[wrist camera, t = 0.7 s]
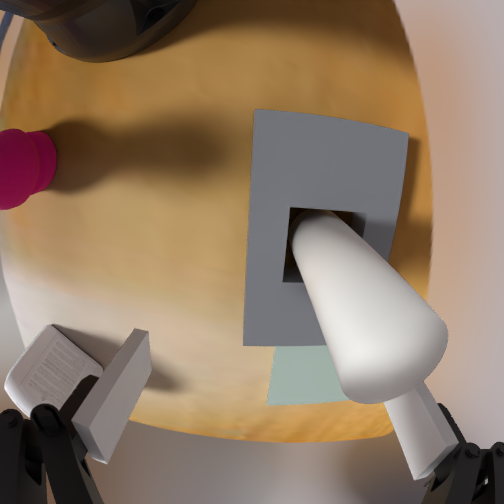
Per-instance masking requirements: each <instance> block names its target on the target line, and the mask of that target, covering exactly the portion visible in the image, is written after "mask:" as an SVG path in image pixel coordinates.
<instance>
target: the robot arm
mask: <svg viewBox="0 0 504 504" xmlns="http://www.w3.org/2000/svg"><path fill="white" fill-rule="evenodd" d="M196 1H197V0H0V10H2V11H6V12H9V13H12V14H15V15H19V16H21V17H24V18H27V19H30V20H33V21H34V22H35V24H36V25H37V26H38V27H39V28H40V29H41V30H42V31H43V32H44V33H45V34H46V35H47V38H48V40H49V41H50V43H51V44H52V45H53V47H54V48H55V49H57V50H58V51H59V52H61V53H62V54H64V55H66V56H69V57H72V58H75V59H78V60H81V61H85V62H94V63H97V62H107V61H113V60H117V59H120V58H123V57H126V56H129V55H131V54H134V53H136V52H138V51H140V50H142V49H144V48H146V47H148V46H150V45H151V44H153V43H154V42H156V41H158V40H159V39H160V38H162V37H163V36H165V35H166V34H167V33H169V32H170V31H171V30H172V29H173V28H174V27H176V26H177V25H178V24H179V23H180V22H181V21H182V20H183V19H184V17H185V16H186V15H187V14H188V13H189V11H190V10H191V9H192V7H193V6H194V5H195V3H196ZM151 372H152V365H151V356H150V345H149V332H148V331H145V330H140V329H136V328H135V329H134V330H133V332H132V333H131V334H130V336H129V337H128V338H127V340H126V341H125V343H124V344H123V345H122V347H121V348H120V349H119V351H118V352H117V354H116V355H115V356H114V358H113V359H112V361H111V362H110V364H109V365H108V366H107V368H106V369H105V371H104V372H103V374H102V375H101V376H100V377H97V376H94V375H91V374H90V375H88V376H87V377H85V378H83V379H82V380H81V381H80V382H79V384H78V385H77V386H76V389H74V390H73V392H72V394H71V395H70V396H69V397H68V399H67V400H66V401H65V403H64V404H63V406H62V407H61V408H60V410H58V409H57V408H56V407H55V406H54V405H51V404H46V403H43V404H39V405H37V406H36V407H34V408H33V409H32V411H31V413H30V419H31V420H28V419H24V418H23V416H22V415H21V413H20V412H19V411H17V410H15V409H7V410H4V411H3V412H2V413H1V414H0V504H47V488H46V472H47V475H48V479H49V482H50V486H51V489H52V492H53V495H54V499H55V501H56V504H104V502H103V500H102V498H101V496H100V494H99V491H98V489H97V487H96V485H95V482H94V480H93V477H92V475H91V472H90V470H89V467H88V464H87V462H86V459H85V458H84V457H85V456H86V454H87V452H88V453H89V454H90V456H91V458H93V459H96V460H98V461H100V462H103V463H106V464H108V461H109V459H110V457H111V455H112V453H113V451H114V449H115V446H116V444H117V442H118V440H119V438H120V436H121V433H122V431H123V429H124V427H125V425H126V423H127V421H128V419H129V417H130V415H131V413H132V411H133V409H134V407H135V405H136V403H137V400H138V398H139V396H140V394H141V392H142V390H143V388H144V386H145V384H146V382H147V380H148V378H149V376H150V374H151ZM384 405H385V407H386V409H387V412H388V414H389V417H390V419H391V421H392V424H393V426H394V429H395V431H396V434H397V436H398V439H399V441H400V444H401V446H402V449H403V452H404V454H405V457H406V460H407V462H408V465H409V468H410V470H411V473H412V475H413V478H414V480H417V479H420V478H424V477H426V476H428V475H429V474H430V473H431V472H432V471H433V470H434V472H435V475H434V476H433V477H432V478H431V479H430V480H429V481H428V482H426V483H425V485H424V487H426V486H427V485H428V484H429V483H430V484H429V487H428V489H427V492H426V494H425V496H424V499H423V501H422V503H421V504H504V443H503V442H496V443H495V444H494V445H493V446H492V447H491V448H490V449H480V448H479V447H478V446H477V445H476V444H474V443H467V442H466V440H465V438H464V437H463V435H462V433H461V431H460V430H459V428H458V426H457V424H456V423H455V421H454V419H453V418H452V417H451V414H450V412H449V411H448V410H447V408H445V406H443V405H442V404H441V403H436V401H435V399H434V398H433V396H432V395H431V393H430V391H429V389H428V388H427V386H426V385H425V383H424V381H422V382H421V383H420V384H419V385H417V386H416V387H415V388H413V389H412V390H410V391H409V392H407V393H405V394H403V395H401V396H399V397H397V398H394V399H392V400H389V401H385V402H384ZM487 478H488V483H487V484H486V485H485V480H486V479H487Z"/></svg>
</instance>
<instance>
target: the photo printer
mask: <svg viewBox="0 0 504 504" xmlns="http://www.w3.org/2000/svg"><path fill="white" fill-rule="evenodd" d="M90 374H91V375H94V376H97V377H100V376H101V375H102V374H103V368H102V367H101V366H100V365H99V364H98V363H97V362H96V361H95V360H93V359H92V358H91V357H89V356H88V355H87V354H86V353H84V352H83V351H82V350H81V349H79V348H78V347H77V346H76V345H74V344H73V343H72V342H71V341H70V340H68V339H67V338H66V337H65V336H64V335H63V334H61V333H60V332H59V331H58V330H57V329H55V328H54V327H53V326H51V325H46V326H45V327H44V328H43V329H42V330H41V331H40V332H39V334H38V335H37V336H36V337H35V338H34V340H33V341H32V342H31V343H30V345H29V346H28V347H27V349H26V350H25V351H24V352H23V354H22V355H21V356H20V357H19V359H18V360H17V362H16V363H15V364H14V365H13V367H12V368H11V370H10V372H9V374H8V376H7V379H6V382H5V387H4V388H5V390H6V392H7V393H8V395H9V396H10V398H11V399H12V400H13V402H14V403H15V404H16V405H17V406H18V407H19V408H20V409H21V411H23V412H24V413H25V414H26V415H27V416H28V417H29V418H30V413H31V411H32V409H33V408H34V407H36V406H37V405H39V404H43V403H46V404H51V405H54V406H55V407H56V408H57V409H58V410H60V408H61V407H62V406H63V404H64V403H65V401H66V400H67V399H68V397H69V396H70V395H71V394H72V392H73V390H74V389H76V386H77V385H78V384H79V382H80V381H81V380H82V379H83V378H85V377H87V376H88V375H90Z"/></svg>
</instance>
